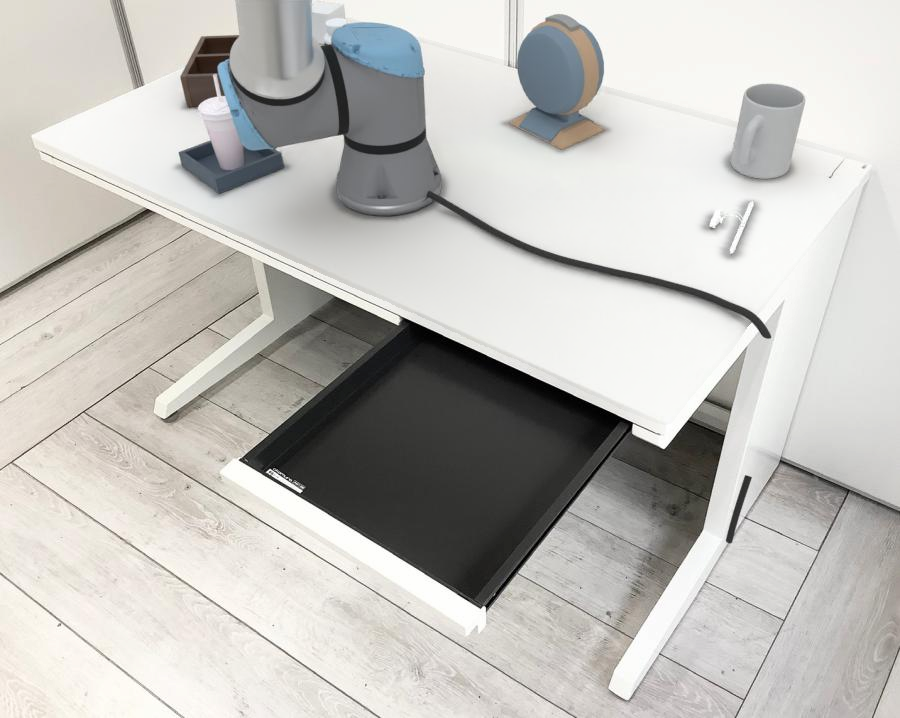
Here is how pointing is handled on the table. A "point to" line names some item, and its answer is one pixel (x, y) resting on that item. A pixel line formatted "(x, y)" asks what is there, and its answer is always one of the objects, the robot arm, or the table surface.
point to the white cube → (324, 17)
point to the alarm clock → (559, 80)
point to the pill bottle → (333, 28)
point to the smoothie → (222, 130)
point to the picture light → (717, 219)
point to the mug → (767, 130)
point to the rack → (205, 68)
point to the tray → (209, 171)
